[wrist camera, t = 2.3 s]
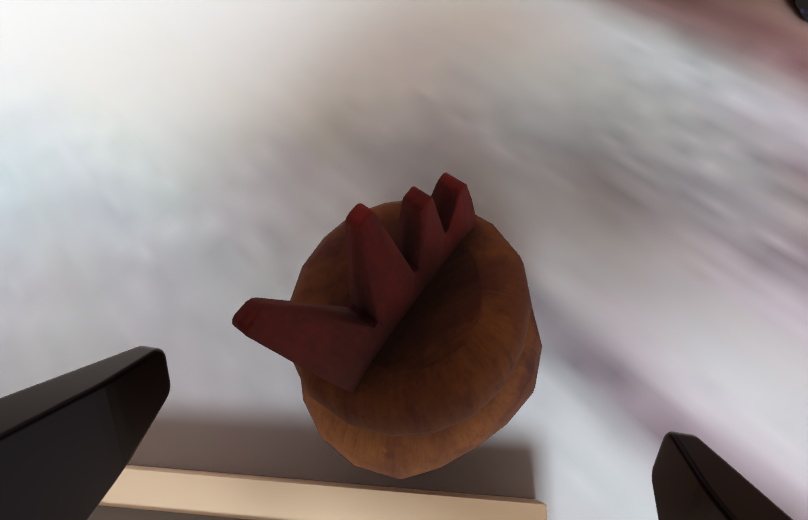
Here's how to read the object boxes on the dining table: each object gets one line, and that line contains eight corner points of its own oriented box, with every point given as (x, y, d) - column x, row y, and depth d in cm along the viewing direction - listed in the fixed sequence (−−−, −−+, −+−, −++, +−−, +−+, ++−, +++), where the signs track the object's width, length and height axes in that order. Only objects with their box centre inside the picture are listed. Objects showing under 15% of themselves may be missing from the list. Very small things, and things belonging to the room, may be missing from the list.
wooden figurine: (388, 502, 17) (162, 693, 3) (314, 362, 19) (-14, 130, 6) (545, 399, 18) (863, 221, 4) (458, 275, 20) (489, -115, 6)
